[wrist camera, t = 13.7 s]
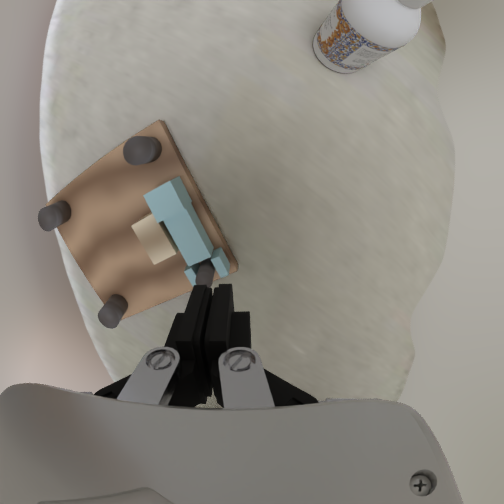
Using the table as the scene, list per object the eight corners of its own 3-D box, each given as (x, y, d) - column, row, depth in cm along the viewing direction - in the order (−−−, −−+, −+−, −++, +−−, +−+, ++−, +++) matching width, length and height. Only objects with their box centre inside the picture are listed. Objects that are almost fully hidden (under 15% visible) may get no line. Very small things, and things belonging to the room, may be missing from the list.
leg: (230, 264, 33) (228, 279, 29) (197, 277, 33) (192, 294, 30) (184, 173, 29) (175, 177, 25) (151, 191, 29) (138, 198, 25)
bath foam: (316, 20, 24) (380, -72, 5) (367, 39, 24) (463, -22, 6) (307, 63, 26) (379, -19, 7) (360, 82, 27) (471, 38, 8)
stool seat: (237, 263, 35) (236, 291, 29) (121, 314, 38) (104, 342, 31) (163, 121, 28) (143, 115, 22) (53, 201, 31) (23, 214, 25)
